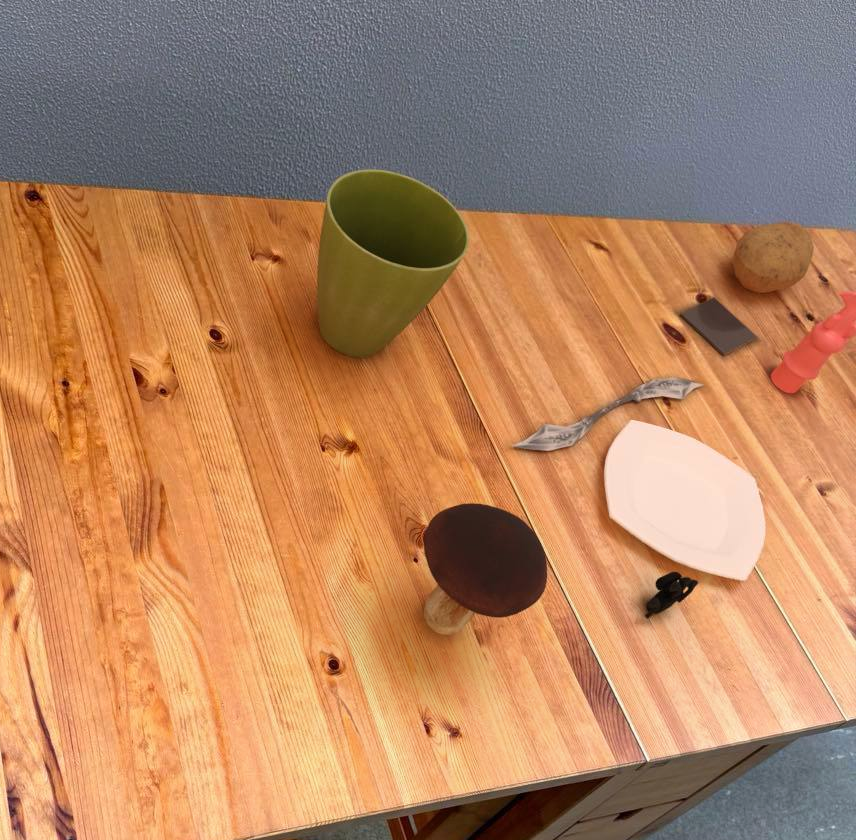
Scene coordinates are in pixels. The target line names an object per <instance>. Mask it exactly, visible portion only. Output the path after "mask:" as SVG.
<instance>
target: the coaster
mask: <svg viewBox="0 0 856 840" xmlns="http://www.w3.org/2000/svg"><path fill="white" fill-rule="evenodd" d="M679 316H680V317H681V318H682V319H683V320H684V321H685V322H686V323H687V324H688V325H689V326H690V327H692V329H694V330H695V331H696V332H697V333H698V334H699V335H700V336H701V337H702V338H703V339H704V340H705V341H707V343H709V344H710V345H711V346H712V347H713V348H714V349H715V350H716V352H718V353H719V354H720V355H721V356H722V357H725V356H726V355H728V354H730V353H732V352H734V351H736V350H738V349H740V348H742V347H744V346H746V345H748V344H750V343H751V342H753V341H755V340H756V339H757V338H758V336H757V335H756V334H754V333H753V332H752V330H750V329H749V328H748V327H747V326H746V325H745V324H744V323H743V322H741V320H739V319H738V318H737V317H736V316H735V314H733V313H732V312H731V311H730V310H729V309H727V307H725V306H724V305H723V304H722V303H721V302H720V301H719V300H718V299H716V298H715V297H712V298H710V299H707V300H706V301H703V302H701V303H699V304H697V305H695V306H692V307H690V308H689V309H686V310H684V311H682V312H680V313H679Z"/></svg>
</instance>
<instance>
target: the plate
mask: <svg viewBox="0 0 856 840" xmlns="http://www.w3.org/2000/svg"><path fill="white" fill-rule="evenodd" d="M603 483H604V484H603V485H604V486H603V487H604V492H605V499H606V506H607V512H608V517H609V519H611V520H612V521H614V523H616V524H618V525H619V526H620V527H621V528H623V529H624V530H626V531H627V532H628V533H630V535H632V536H634V537H635V538H636V539H638V540H639V541H640V542H642V543H643V544H645V545H646V546H648V547H649V548H651V549H652V550H654V551H655V552H657V553H659V554H661V555H662V556H664V557H666V558H668V559H670V560H671V561H673V562H675V563H677V564H680V565H683V566H686V567H688V568H690V569H693V570H697V571H700V572H702V573H706V574H710V575H714V576H718V577H721V578H725V579H731V580H735V581H740V582H746V581H747V579H748V578H749V577H750V575H751V573H752V571H753V569H754V568H755V566H756V564H757V563H758V560H759V559H760V557H761V553H762V551H763V548H764V545H765V540H766V518H765V512H764V507H763V503H762V498H761V495H760V492H759V488H758V484H757V481H756V478H755V476H753V475H751V474H750V473H748V472H747V471H745V470H744V469H743V468H742V467H740V466H739V465H738V464H736V463H734V462H733V461H732V460H730V459H729V458H727V457H726V456H724V455H723V454H721V453H720V452H718V451H717V450H715V449H714V448H712V447H710V446H708V445H707V444H705V443H704V442H701V441H700V440H698V439H697V438H694V437H691V436H689V435H686V434H684V433H681V432H678V431H676V430H672V429H669V428H665V427H663V426H659V425H656V424H652V423H648V422H644V421H639V420H634V419H630V420H629V421H628V422H627V423H626V425H624V427H623V428H622V429H621V430H620V432H619V433H618V434H617V435H616V437H614V439H613V441H612V443H611V445H610V446H609V448H608V451H607V454H606V457H605V461H604V469H603Z"/></svg>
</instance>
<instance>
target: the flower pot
mask: <svg viewBox="0 0 856 840" xmlns="http://www.w3.org/2000/svg"><path fill="white" fill-rule="evenodd" d="M324 206H325V207H324V212H323V216H322V223H321V229H320V237H319V245H318V257H317V272H316V273H317V274H316V279H317V280H316V294H317V296H316V298H317V300H316V301H317V315H318V327H319V332H320V334H321V337H322V338H323V340H324V341H325V343H326V344H328V345H329V347H331V348H332V349H334V351H336V352H338V353H340V354H343V355H345V356H348V357H352V358H358V359H359V358H360V359H361V358H369V357H372V356H374V355H376V354H377V353H378V352H381V350H383V349H384V348H385V347H386V346H387V345H388V344H390V343H391V342H392V341H393V340H394V339H395V338H397V336H399V335H400V334H401V333H402V332H403V331H404V330H406V328H407V327H408V326H409V325H410V324H411V323H412V322H413V321H414V320H415V319H416V318H417V317H418V316H419V315H420V314H421V313H422V311H424V310H425V308H426V307H427V306H428V305H429V304H430V302H432V300H433V299H434V298H435V296H436V295H438V293H439V292H440V290H441V289H442V288H443V287H444V285H445V284H446V283H447V281H448V280H449V278H450V277H451V276H452V274H453V273H454V272H455V270H456V269H457V267H458V266H459V264H460V262H461V261H462V260H463V258H464V256H466V254H467V252H468V249H469V245H470V234H469V229H468V226H467V223H466V221H465V220H464V217H462V214H461V213H460V211H459V210H458V209H457V208H456V207H455V206H454V205H453V204H452V202H450V201H449V200H448V199H447V198H446V197H445V196H444V195H443V194H441V193H440V192H438V191H437V190H436V189H434V188H432V187H431V186H430V185H427V184H426V183H424V182H422V181H420V180H418V179H415V178H413V177H411V176H407V175H405V174H402V173H398V172H394V171H390V170H384V169H372V168H371V169H359V170H355V171H351V172H348V173H345V174H343V175H342V176H340V177H338V178H337V179H336V180H335V181H334V182H333V183H331V186H330V187H329V189H328V192H327V196H326V200H325V205H324Z"/></svg>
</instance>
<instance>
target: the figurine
mask: <svg viewBox="0 0 856 840" xmlns="http://www.w3.org/2000/svg"><path fill="white" fill-rule="evenodd" d="M838 295H839V296H840V297H841V300H842V302H843V304H844V307H843V308H841V309H840V310H839V311H837V312H836V313H833V314H831V315H830V316H828V317H827V318H826V319H825V320H821V321H819V322H817V323H816V324H815V325H813V326H812V328H811V330H810V331H809V332H807V333H806V334H805V335H804V337H803V338H802V339H801V340H800V342H799V343H797V345H796V346H795V347H794V348H793V349H788V350H786V351H785V352H784V353H783V355H782V361H781V362H780V363H779V364H778V365H777V366H776V367H775V369H774V370H773V371H772V372H771V373H770V380H771V382H772V383H773V385H774V386H775V387H776V388H777V389H779V390H780V391H781V392H784V393H786V394H795V393H796V392H797V391H799V389H800V388H801V387H802V386H803V385H805V383H806V382H807V381H809V380H810V381H811V380H815V379H817V378H818V376H819V373H820V371H821V368H822V367H823V366H825V364H826V363H827V362H828V361H829V359H830V358H831V357H832V355H834V354H838V353H840V352H842V351H843V350H844V349H845V348H846V346H847V343H848V340H851V339H853V338H854V337H855V336H856V292H855V291H849V290H847V291H846V290H845V291H839V292H838Z"/></svg>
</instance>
